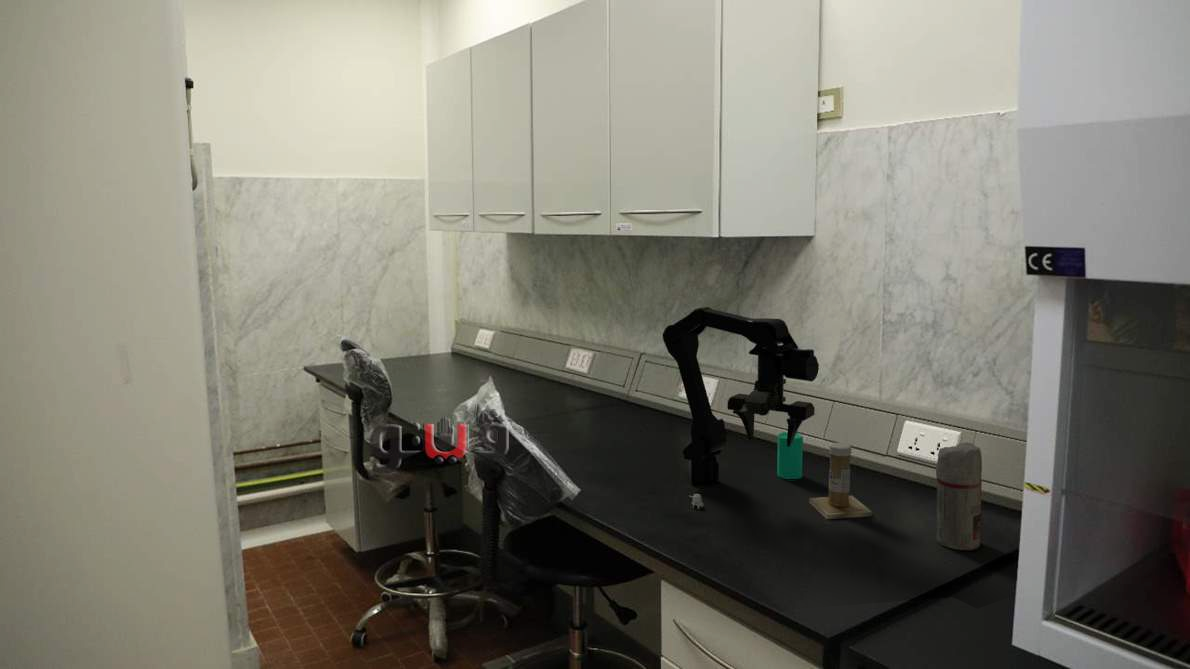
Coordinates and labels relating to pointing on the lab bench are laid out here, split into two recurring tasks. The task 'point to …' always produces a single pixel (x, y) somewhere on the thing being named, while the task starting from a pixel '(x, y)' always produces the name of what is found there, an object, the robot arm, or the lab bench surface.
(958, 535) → the spray can
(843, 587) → the lab bench surface
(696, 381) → the robot arm
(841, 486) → the sprinkles bottle
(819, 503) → the rest pad
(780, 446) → the candle
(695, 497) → the small grey figurine
